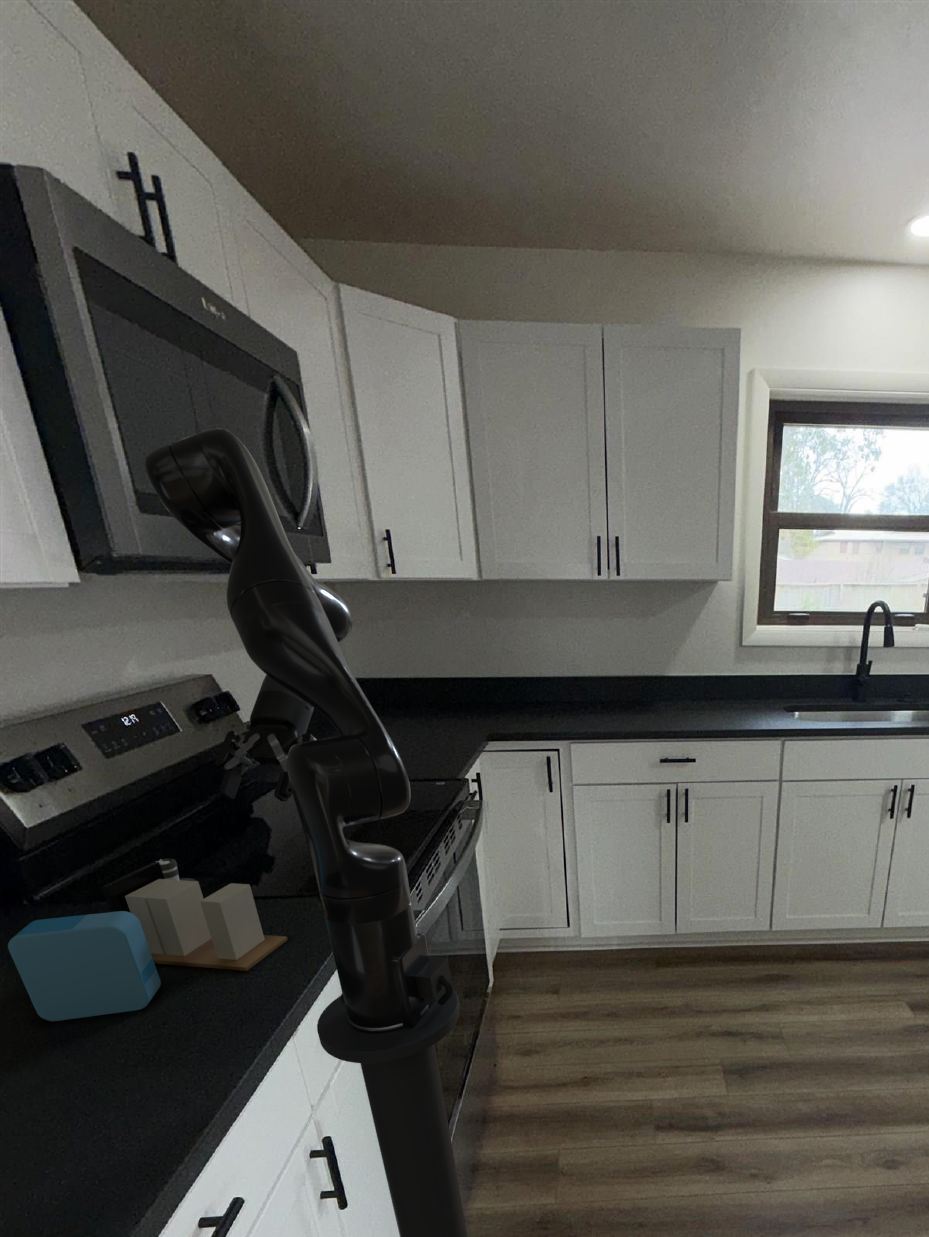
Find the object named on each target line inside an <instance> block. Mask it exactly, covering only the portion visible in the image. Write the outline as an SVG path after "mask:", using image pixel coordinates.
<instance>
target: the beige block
mask: <svg viewBox="0 0 929 1237" xmlns="http://www.w3.org/2000/svg"><path fill="white" fill-rule="evenodd" d="M251 888H252V887H251V885H250V884H249V883H248V884H247V883H234V882H233V883H229V884H227V885H225V886H224V887H222V888H220V889H218V890H216V891H215V892H213V893H211V894H209V895H208V896H206V897H204V898H203V900H201V901H200V903H201V906H202V909H203V912H204V916H205V919H206V922H207V925H208V929H209V932H210V935H211V938H212V942H213V945H214V948H215V951H216V955H217V958H218V959H230V960H237V959H239V958H240V957H242V956H243V955H244V954H246V953H247V952H248V951H250V950H251V949H253V948H254V947H255V946H257V945H258V944H260V943H261V942H262V941H264V940H265V939H264V935H265V934H264V932H263V929H262V925H261V921H260V917H259V913H258V910H257V906H256V902H255V898H254V896H253V891H252V889H251Z"/></svg>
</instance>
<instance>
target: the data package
mask: <svg viewBox="0 0 929 1237" xmlns="http://www.w3.org/2000/svg"><path fill="white" fill-rule="evenodd" d="M7 949H8V952H9V954H10V956H11V959H12V961H13V963H14V965H15V967H16V969H17V972H18V974H19V976H20V978H21V981H22V983H23V985H24V987H25V990H26V992H27V994H28V996H29V998H30V1001H31V1003H32V1006H33V1007H34V1010H35V1012H36V1014H37V1015H38V1016H39V1017H40V1018H41V1019H43V1020H45V1021H48V1022H61V1021H69V1020H70V1021H71V1020H76V1019H84V1018H91V1017H98V1016H106V1015H107V1016H108V1015H114V1014H121V1013H127V1012H128V1013H129V1012H135V1011H141V1010H143V1009H145V1008H146V1007H148V1005H149V1004H150V1003H151V1001H152V999H153V998H154V996H155V995H156V994H157V992H158V991H159V989H160V988H161V984H162V982H161V981H162V980H161V978H160V975H159V973H158V969H157V967H156V966H157V965H156V963H154V961H153V958H152V955H151V952H150V949H149V946H148V944H147V941H146V938H145V935H144V932H143V929H142V927H141V924H140V921H139V919H138V918H137V917H136V916H135V915H134V914H132V913H130V912H126V911H118V912H111V911H110V912H109V911H108V912H100V913H90V914H81V915H72V916H63V917H52V918H43V919H42V918H41V919H36V920H33V921H31V922H29V923H28V924H27V925H25V927H23V928H22V929H21V930H20V931H19V932H17V933H16V934H15V935H14V936H13V937H12V938H11V939H10V940H9V941H8V944H7Z"/></svg>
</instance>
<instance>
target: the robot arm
mask: <svg viewBox="0 0 929 1237" xmlns="http://www.w3.org/2000/svg"><path fill="white" fill-rule="evenodd" d="M144 469H145V473H146V476H147V479H148V481H149V483H150V485H151V487H152V489H153V490H154V492H155V493H156V495H157V497H158V499H159V500H160V502H161V503H162V504H163V506H164V508H166V510H167V511H168V512H169V513H170V515H171V516H172V517H173V518H174V519H175V521H177V523H178V524H180V525H181V526H182V527H183V529H185V530H186V531H187V532H188V533H190V534H191V535H192V536H193V537H195V539H197V540H198V541H200V542H201V543H202V544H203V545H205V546H206V547H208V548H209V549H210V550H211V551H213V552H214V553H215V554H216V555H218V556H219V557H220V558H222V559H223V560H224V561H226V562H228V564H230V565H231V566H230V570H229V573H228V578H227V586H226V593H225V594H226V606H227V610H228V613H229V616H230V618H231V620H232V623H233V625H234V627H235V630H236V632H237V634H238V636H239V639H240V641H241V643H242V646H243V647H244V649H245V652H246V654H247V656H248V657H249V659H250V660H251V661H252V662H253V663H254V664H255V666H256V667H257V668H258V669H259V670H261V671H262V672H263V673H264V674H265V676H264V678H263V680H262V683H261V685H260V688H259V691H258V693H257V697H256V699H255V702H254V705H253V708H252V710H251V713H250V716H249V722H250V728H249V730H248V732H247V733H245V734H238V733H237V732H236V731H235V730H228V732H227V733H226V735H225V738H224V740H223V742H222V744H221V746H220V748H219V751H218V753H217V756H216V758H215V760H214V765H215V766H217V767H218V768H219V769H221V770H222V771H223V772H224V774H223V776H222V780H221V782H220V786H219V791H220V794H221V795H222V796H223V797H225V799H228V800H235V799H236V797H237V794H238V791H239V788H240V785H241V782H242V780H243V778H242V777H243V776H244V775H245V774H246V773H247V772H248V771H249V770H254V769H256V768H257V767H259V766H260V765H269V764H272V765H275V766H281V769H282V770H283V772H280V773H279V776H278V780H277V782H276V786H275V788H274V792H273V796H274V797H275V798H276V799H277V800H279V801H280V802H287V801H289V799H290V798H291V797H293V800H294V804H295V806H296V810H297V814H298V816H299V819H300V823H301V827H302V830H303V834H304V837H305V841H306V845H307V850H308V853H309V857H310V861H311V865H312V868H313V872H314V875H315V879H316V880H315V881H316V884H317V889H318V892H319V898H320V901H321V906H322V910H323V913H324V919H325V923H326V928H327V931H328V936H329V942H330V945H331V950H332V955H333V959H334V964H335V967H336V972H337V976H338V982H339V985H340V989H341V994H340V1000H341V1005H342V1006H343V1004H344V1002H345V1007H346V1011H347V1020H348V1023H349V1025H350V1026H351V1027H352V1028H354V1029H355V1030H357V1031H360V1032H364V1033H386V1032H392V1031H396V1030H399V1029H403V1028H410V1029H412V1028H414V1027H415V1026H416V1025H417V1023H418V1022H419V1021H420V1020H421V1018H422V1017H423V1016H424V1015H425V1014H426V1013H427V1011H428V1010H429V1008H430V1007H431V1006H432V1005H433V1003H434V1002H435V1001H436V998H435V997H436V996H437V994H438V993H439V992H440V991H441V989H442V988H443V987H445V989H446V992H445V994H444V995H443V996H442V997H441V998H440V999H439V1001H438V1003H439V1004H440V1005H444V1004H445V1003H446V1001H448V1000H449V998H450V997H451V996H452V994H453V989H454V986H453V985H452V983H451V982H450V980H451V977H452V976H451V970H450V969H451V968H450V964H449V963H450V962H449V957H448V956H447V957H445V956H434V955H433V956H432V955H430V956H429V951H428V944H427V938H426V935H425V933H423V932H418V930H417V924H416V918H415V913H414V908H413V907H414V906H413V901H412V895H411V894H412V893H411V889H410V883H409V877H408V872H407V871H408V870H407V864H406V859H405V858H404V856H403V854H402V853H401V851H400V850H399V849H396V848H395V847H392V846H389V845H386V844H382V843H381V844H380V843H373V842H361V841H355V840H351V839H348V838H346V836H345V834H344V829H347V828H350V827H355V826H359V825H363V824H369V823H372V822H376V821H381V820H385V819H389V818H393V817H396V816H399V815H401V814H403V813H404V812H405V811H407V809H408V808H409V806H410V804H411V798H412V793H411V790H412V789H411V784H410V779H409V776H408V775H409V774H408V772H407V769H406V767H405V764H404V762H403V759H402V757H401V755H400V753H399V751H398V748H397V747H396V745H395V743H394V741H393V739H392V738H391V736H390V734H389V732H388V731H387V730H386V727H385V726H384V724H383V722H382V720H380V718H379V716H378V714H377V713H376V711H375V710H374V708H373V706H372V705H371V702H370V701H369V699H368V698H367V696H366V695H365V693H364V692H363V689H362V688H361V686H360V684H359V682H358V681H357V678H356V677H355V674H354V673H353V670H352V669H351V667H350V664H349V662H348V660H347V658H346V656H345V654H344V652H343V650H342V648H341V646H340V643H341V642H342V641H344V640H346V639H347V638H348V637H349V635H350V634H351V632H352V628H353V616H352V613H351V610H350V608H349V607H348V605H347V603H346V602H345V600H344V599H343V598H342V597H341V596H340V595H339V594H338V593H336V592H335V591H334V590H332V589H331V588H330V587H328V585H325V584H324V583H322V582H321V581H320V580H319V579H316V578H315V577H313V575H312V574H311V573H310V572H309V570H308V569H307V567H306V566H305V564H304V562H302V560H301V559H300V558H299V557H298V555H296V553H295V552H294V549H293V548H292V545H291V543H290V541H289V539H288V537H287V534H286V531H285V529H284V527H283V523H282V522H281V520H280V519H281V518H280V516H279V514H278V512H277V508H276V506H275V504H274V501H273V499H272V495H271V493H270V491H269V488H268V486H267V483H266V481H265V478H264V477H263V475H262V472H261V470H260V468H259V466H258V464H257V462H256V461H255V459H254V457H253V455H252V454H251V452H250V451H249V449H248V448H247V447H246V446H245V444H244V443H243V441H242V440H241V439H240V438H238V437H237V436H236V435H235V434H234V433H233V432H231V431H230V430H228V429H225V428H222V427H221V428H220V427H216V428H210V429H206V430H202V431H200V432H196V433H194V434H191V435H188V436H187V437H183V438H181V439H179V440H177V441H173V442H171V443H169V444H166V445H165V444H164V445H163V446H161V447H159V448H157V449H155V450H153V451H151V452H150V453H149V454H147V456H146V457H145V458H144ZM238 524H240V527H238V526H236V525H238ZM314 709H316V710H317V711H318V712H319V713H320V714H321V715H323V716H324V717H325V718H326V719H327V720H328V721H329V722H330V724H332V726H333V727H334V728H335V729H336V731H337V732H338V733H339V735H340V736H333V737H327V738H320V739H317V738H316V737H315V736H314V735H313V734H311V733H310V732H307V731H308V727H309V724H310V721H311V718H312V715H313V712H314ZM248 754H249V756H250V757H251V759H250V758H248V757H246V756H247V755H248ZM241 763H242V764H241ZM240 764H241V765H240Z"/></svg>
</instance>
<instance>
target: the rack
mask: <svg viewBox="0 0 929 1237" xmlns="http://www.w3.org/2000/svg"><path fill="white" fill-rule="evenodd" d="M101 890H102V892H103V895H104V898H105V900H106V903H107V906H108V909H109V911H110V912H118V911H126V912H130V913H132V914H134V915H135V916H136V917H137V918H138V919H139V921H140V924H141V927H142V929H143V932H144V935H145V938H146V941H147V944H148V946H149V949H150V952H151V955H152V958H153V961H154V964H159V965H171V966H182V967H183V966H184V967H195V968H208V969H218V970H230V971H231V970H233V971H242V972H243V971H245V972H248V971H249V970H250V969H252V968H253V967H254V966H256V964H258V963H260V962H261V961H262V960H263V959H265V958H266V957H267V956H269V955H270V954H271V953H273V952H274V951H276V949H278V948H279V947H280V946H282V945H283V944H285V943H286V942H287V941H288V940H289V939H288V936H284V935H271V934H270V935H269V934H263V935H264V939H265V940H264V941H262V942H261V943H260V944H258V945H257V946H255V947H254V948H253V949H251V950H250V951H248V952H247V953H246V954H244V955H243V956H242V957H240V958H239V959H237V960H230V959H218V958H217V955H216V951H215V948H214V945H213V942H212V938H211V935H210V932H209V929H208V925H207V922H206V919H205V916H204V912H203V909H202V906H201V903H200V901H201V900H203V899H204V896H203V892H202V889H201V885H200V882H199V881H198V880H197V881H183V880H180V881H177V880H168V879H165V878H164V875H163V872H162V869H161V866H160V863H159V862H155V861H153V862H151V863H149V864H147V865H144V866H142V867H140V868H138V869H136V870H134V871H132V872H130V873H127V874H125V875H123V876H121V877H120V878H117V879H115V880H113V881H111V882H109V883H106V884H104V885H103V886H101Z"/></svg>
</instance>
